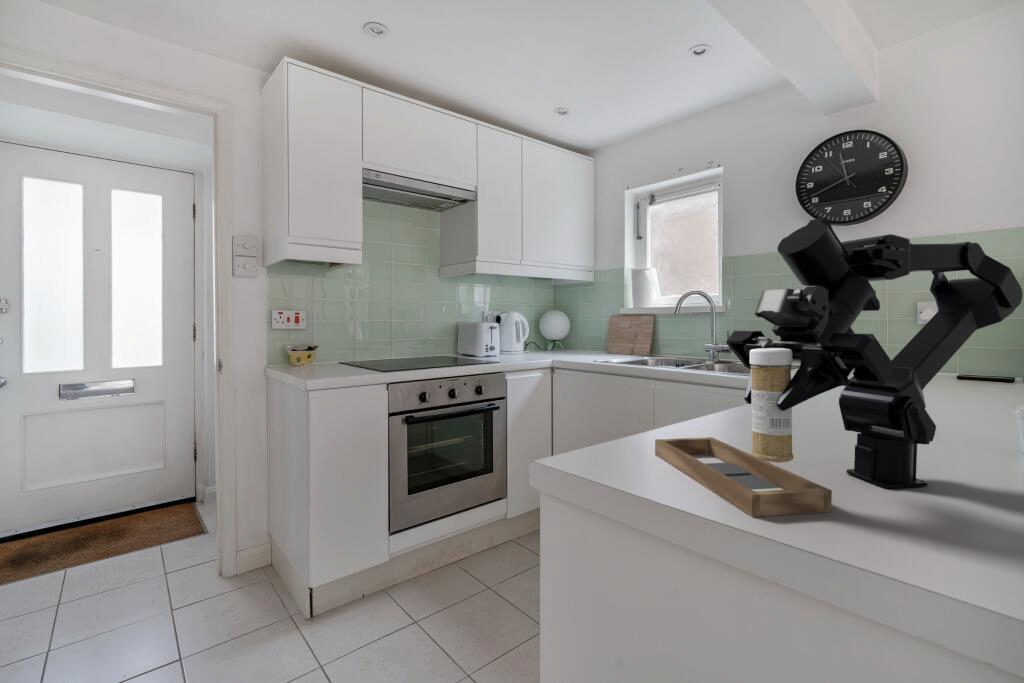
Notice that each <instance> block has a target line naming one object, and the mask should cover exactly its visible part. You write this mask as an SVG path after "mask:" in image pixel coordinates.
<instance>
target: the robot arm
mask: <svg viewBox="0 0 1024 683" xmlns="http://www.w3.org/2000/svg"><path fill="white" fill-rule="evenodd" d="M777 252H778V254H779V255H780V256H781V258H782V259H783V261H784V262H785V263H786V265H787V266H788V268H789V269H790V270H791V272H792V273H793V275H794V276H795V278H796V279H797V280H798V281H799V282H798V283H800V284H801V285H803V286H804V287H805V286H806V287H805V288H804V289H802V288H799V289H798V288H797V289H796V288H795V289H793V288H776V289H765V290H762V292H761V295H760V298H759V300H758V303H757V306H756V308H755V312H754V315H755V316H756V317H758V318H762V319H764V320H765V321H767V322H769V323H771V324H772V325H773V327H772V328H771V329H770V330H771V331H772V333H773V334H774V335H775V336H776V337H779V338H780V339H779V340H772V339H771V338H769V337H767V336H765V334H764V333H763V332H762V331H761V330H734V331H733V332H732V333H731V334H730V335H729V337H728V338H727V339H726V344H727V346H728V347H729V348H730V349H731V351H732V352H733V353H734V355H735V356H736V357H737V358H738V359H739V361H740V362H741V363H742V365H743V366H744V367H745V368H747V369H749V370H750V371H749V375H748V380H747V385H746V388H745V394H744V397H743V398H744V401H745V402H746V403H747V404H748V405H751V388H752V375H751V372H752V371H751V364H750V350H752V349H758V348H785V349H791V350H792V359H793V362H796V363H800V365H799V367H798V369H797V371H796V372H795V374H793V376H792V377H791V381H790V382H789V384H788V385H787V387H786V388H785V390H784V392H783V393H782V395H781V397H780V399H779V401H778V403H777V407H778V408H779V409H780V410H781V411H785V410H787V409H789V408H791V407H792V408H793V407H795V406H798V405H799V404H802V403H803V402H806V401H808V400H810V399H812V398H814V397H817V396H818V395H821V394H823V393H826V392H829V391H831V390H833V389H837V388H839V387H844V388H843V389H842V390H841V393H840V395H839V399H838V405H839V411H840V414H841V418H842V422H843V427H844V430H845V431H848V432H854V433H856V444H855V445H854V466H853V468H850V469H849V468H848V469H846V474H848V475H851V476H854V477H856V478H859V479H861V480H864V481H867V482H869V483H872V484H874V485H877V486H879V487H882V488H887V489H893V488H894V489H896V488H897V489H899V488H914V487H927V486H928V481H926V480H924V479H919V478H917V466H918V465H917V463H918V462H917V461H918V460H917V459H918V445H930V443H931V442H933V441H934V437H935V435H936V434H935V433H936V430H937V425H936V423H935V422H934V421H933V419H932V417H931V416H930V414H929V413H928V411H927V410H926V406H927V405H926V402H925V396H924V393H923V390H924V389H925V387H927V385H928V384H929V383H930V382H931V381H932V379H934V377H935V376H936V375H937V374H938V373H939V372H940V371H941V369H943V367H944V366H945V365H947V363H948V362H949V360H951V359H952V357H953V356H954V355H955V354H956V353H957V352H958V351H959V350H960V349H961V347H962V346H963V345H964V344H965V343H966V342H967V341H968V339H970V337H972V335H973V334H974V333H975V332H976V331H978V330H980V329H984V328H986V327H989V326H992V325H995V324H999V323H1001V322H1003V321H1004V320H1005V319H1006V318H1007V317H1008V318H1009V316H1011V315H1012V314H1013V313H1014V312H1015V311H1016V309H1017V308H1018V307H1019V306H1020V305H1021V304H1022V301H1023V290H1022V286H1021V284H1020V283H1019V281H1018V280H1017V277H1016V276H1015V274H1014V273H1013V271H1012V269H1011V268H1010V267H1009V266H1008V265H1005V264H1004V263H1001V262H1000V261H998V260H997V259H994V258H993V257H990V256H989V255H987V254H986V253H985V252H984V250H983V248H982V247H981V245H980V244H979V243H977V242H971V241H964V242H962V241H961V242H954V243H911V241H910V239H909V238H907V237H904V236H900V235H897V234H892V233H889V234H885V235H884V234H883V235H878V236H877V235H876V236H872V237H865V238H858V239H853V240H846V241H841V240H840V239H839V237H838V236H837V234H836V232H835V231H834V229H833V227H832V224H831V222H830V221H829V219H828V218H827V217H825V216H824V217H823V216H822V217H820V218H819V217H818V218H815V219H810V220H809V221H808V223H807V224H806V225H804V226H802V227H800V228H798V229H796V230H794V231H793V232H791V233H790V234H789V235H787V236H785V237H783V238H782V239H781V240H780V242H779V243H778V245H777ZM961 271H969V273H970V274H971V275H972V276H974V277H972V278H956V279H955V278H954V279H948V278H947V276H946V275H945V273H949V272H961ZM913 272H914V273H915V272H916V273H917V272H920V273H921V272H931V273H932V275H933V277H932V278H933V279H932V282H931V285H930V287H929V291H930V293H931V294H932V295H933V296H932V297H934V300H935V303H936V306H937V312H936V313H935V314H934V315H933V316H932V317H931V318H930V319H929V320H928V322H926V324H924V326H923V327H922V328H921V329H920V330H919V331H918V332H917V333H916V334H915V335H913V337H912V338H911V339H910V340H909V341H908V343H907V344H906V345H905V346H904V347H903V348H901V350H900V351H899V352H898V353H897V354H896V355H895V356H894V357H893V358H892V359H891V358H890V356H889V355H888V354H887V352H886V351H885V350H884V348H883V346H882V345H881V344H880V342H879V340H878V338H876V337H875V334H873V333H856V332H855V331H854V329H852V326H853V324H854V322H856V320H857V318H858V317H859V315H860V314H861V313H862V312H875V311H876V312H878V311H879V310H880V309H881V303H880V300H879V299H878V297H877V290H875V289H874V288H873V286H872V284H871V283H870V282H879V281H893V280H896V279H900V278H901V277H905V276H908V275H910V273H913ZM851 373H852V375H853V376H851V378H848V377H849V376H850V375H851Z"/></svg>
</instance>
